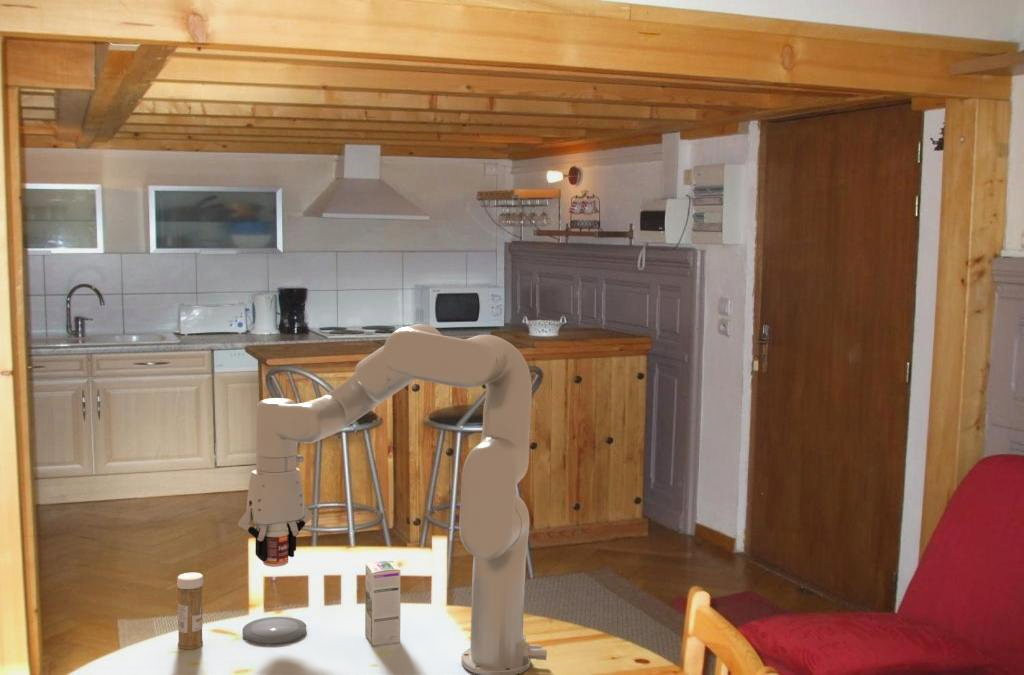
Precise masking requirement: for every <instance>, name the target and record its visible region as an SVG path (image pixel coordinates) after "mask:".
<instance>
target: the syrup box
mask: <svg viewBox="0 0 1024 675" xmlns="http://www.w3.org/2000/svg"><path fill="white" fill-rule="evenodd" d="M364 587H365V590H364V591H365V601H364V602H365V605H364V607H365V608H364V609H365V610H364V611H365V612H364V613H365V615H364V616H365V617H364V619H365V620H364V622H365V627H364V628H365V629H364V635H365V638H366V639H367V640H368V642H369V643H370V644H371V646H372V647H374V646H375V647H376V646H377V647H378V646H386V645H387V646H388V645H395V644H400V643H401V569H400V568H399V566H397V564H395V562H394V561H392V560H386V561H385V560H383V561H382V560H381V561H375V562H370V563H365V586H364Z"/></svg>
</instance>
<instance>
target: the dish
mask: <svg viewBox="0 0 1024 675" xmlns="http://www.w3.org/2000/svg"><path fill="white" fill-rule="evenodd" d="M306 634H307V625H306V623H305V622H304V621H303V620H300V619H298V618H293V617H291V616H290V617H288V616H271V617H270V616H269V617H262V618H259V619H255V620H252V621H250V622H248V623H246V624H245V625H244V626H243V627H242V638H243V639H244V640H245V641H247V642H249V643H251V644H255V645H260V646H280V645H287V644H291V643H293V642H296V641H299V640H301V639H303V638H304V637H305V635H306Z"/></svg>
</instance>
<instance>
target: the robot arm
mask: <svg viewBox="0 0 1024 675" xmlns="http://www.w3.org/2000/svg"><path fill="white" fill-rule="evenodd" d="M416 380H418V381H423V382H429V383H433V384H438V385H444V386H448V387H453V388H458V389H459V388H460V389H474V388H478V387H481V386H483V385H485V391H486V392H485V399H484V404H483V410H482V430H481V438H480V443H478V444H477V445H476V446H475V447H473V448H472V449H471V451H470V452H469V453H468V454H467V456H466V458H465V460H464V464H463V468H462V473H461V474H462V475H461V490H460V503H459V504H460V507H459V524H458V526H459V529H458V530H459V537H460V540H461V543H462V545H463V547H464V548H465V550H466V551H467V552H468V553H469V554H470V555H471V556H473V560H472V578H471V579H472V582H471V612H470V613H471V615H470V616H471V618H470V647H469V648H468V649H467V650H465V651H464V652H463V653H462V655H461V665H462V667H464V668H465V669H466V670H467V671H469V672H471V673H473V674H476V675H519V674H521V673H524V672H525V671H527V670H528V669H529V668H530V667H531V663H532V661H531V660H532V659H533V660H537V661H546V660H547V659H548V658H547V657H548V649H546V648H542V644H530V643H529V642H527V635H524V615H525V614H524V612H525V611H524V610H525V587H526V586H525V583H526V582H525V581H526V564H527V551H528V541H529V535H530V521H531V520H530V512H529V510H528V507H527V505H526V502H525V501H524V500H523V498H521V497H520V496H519V495H518V494H517V493H516V490H517V485H518V484H519V483H520V481H521V480H522V479H524V477H525V476H526V474H527V472H528V469H529V464H530V463H529V462H530V461H529V460H530V438H531V414H532V413H531V411H532V398H533V397H532V396H533V395H532V394H533V390H532V388H533V386H532V385H533V384H532V377H531V371H530V368H529V365H528V363H527V361H526V358H525V357H524V355H523V354H522V353H521V351H519V350H518V348H517V347H515V346H514V345H513V344H512V343H511V342H509V341H507V340H506V339H504V338H502V337H500V336H498V335H497V336H496V335H493V334H479V335H475V336H472V337H468V338H461V337H454V336H447V335H443V334H441V332H440V331H439V330H438V329H437V328H435V327H434V326H432V325H429V324H427V323H426V324H425V323H419V324H413V325H407V326H403V327H400V328H398V329H396V330H394V331H393V332H392V333H391V334H389V336H387V338H386V340H385V342H384V345H382V346H381V347H379V348H378V349H377V350H375V351H373V352H372V353H370V354H369V355H368V356H366V357H365V358H363V359H362V360H361V359H360V360H359V362H357V364H356V365H355V371H354V373H353V374H352V375H351V376H350V377H349V378H347V379H346V380H345V381H344V382H342V383H341V384H340V385H338V386H336V387H335V388H334V389H332V390H330V392H328V393H326V394H324V395H323V396H321V397H318V398H314V399H312V400H311V399H310V400H308V401H304V402H301V403H296V402H295V401H294V400H292V399H291V398H286V397H285V398H284V397H272V398H271V397H269V398H264V399H262V400H260V401H259V402H258V403H257V405H256V428H255V429H256V431H255V432H256V435H255V436H256V438H255V439H256V445H255V446H256V447H255V448H256V455H255V457H256V459H255V460H256V463H255V465H256V466H255V467H256V469H255V470H252V471H251V473H250V478H249V482H248V483H249V484H248V489H247V500H246V501H247V502H246V510H245V512H244V514H243V515H242V516H241V518H240V519H239V520H238V522H237V525H238V527H240V528H242V529H243V530H245V531H247V532H248V533H249V534H250V535H251V536H252V537H253V538H255V550H254V551H255V552H254V553H255V556H256V557H257V558H258V560H260V561H261V562H263V561H266V560H267V541H266V540H265V537H264V536H265V533H266V529H267V525H271V524H275V523H283V522H285V523H286V522H287V528H286V529H287V530H288V532H289V548H288V557H289V558H294V557H295V552H296V551H297V537H298V535H299V534H300V532H301V531H302V529H303V528H304V527H305V525H306V524H308V523H309V522H310V521H311V519H313V517H314V514H313V513H312V511H310V509H309V507H308V506H306V504H305V499H304V498H305V496H304V488H303V481H302V480H303V479H302V475H301V470H300V469H299V468H298V466H299V464H300V463H303V462H304V460H305V459H304V455H303V454H302V455H300V454H299V453H298V443H301V444H313V443H316V442H318V441H321V440H323V439H325V438H328V437H330V436H333V435H336V434H337V433H339V432H341V431H343V430H344V429H345V428H347V427H349V426H350V425H351V424H354V423H355V422H356V421H357V420H359V419H361V418H362V417H363V416H365V415H366V414H368V413H369V412H371V411H372V410H373V409H375V408H376V407H378V406H379V405H381V404H382V403H384V402H385V401H386V400H388V399H389V398H391V397H392V396H394V395H395V394H397V393H399V391H401V390H403V389H404V388H405V387H407V386H408V385H410V384H411V383H413V382H414V381H416ZM250 521H253V523H254V525H255V526H253V525H251V524H250Z"/></svg>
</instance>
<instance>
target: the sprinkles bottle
mask: <svg viewBox="0 0 1024 675" xmlns="http://www.w3.org/2000/svg"><path fill="white" fill-rule="evenodd" d="M203 585H204V576H203V574H202V573H200V572H193V571H192V572H191V571H190V572H185V573H181V574H179V575H177V579H176V586H177V589H178V591H177V593H178V597H177V598H178V599H177V600H178V601H177V630H178V642H177V647H178V648H179V649H181V650H185V651H189V650H196V649H200V648H201V646H203V644H204V640H203Z"/></svg>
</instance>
